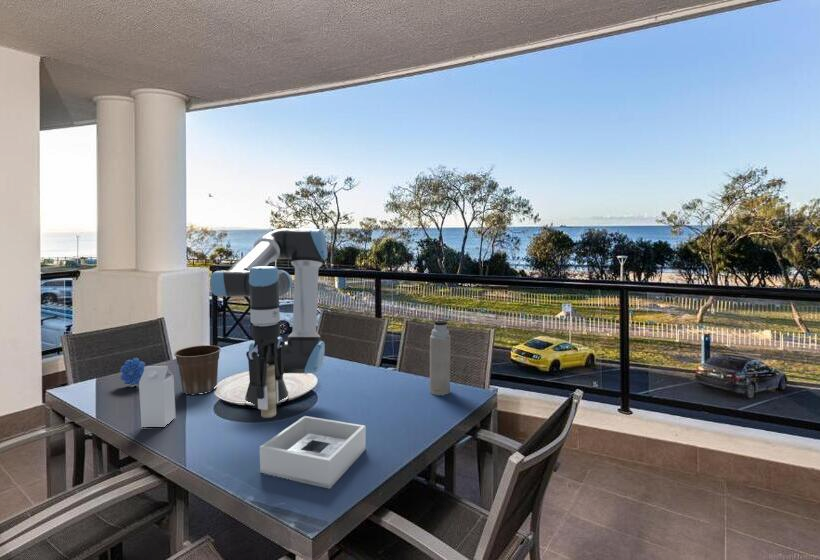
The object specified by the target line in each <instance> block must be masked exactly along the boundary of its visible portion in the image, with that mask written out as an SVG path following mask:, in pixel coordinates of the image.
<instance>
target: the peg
mask: <svg viewBox="0 0 820 560" xmlns="http://www.w3.org/2000/svg"><path fill="white" fill-rule="evenodd" d="M260 383H261V382H260ZM265 386H267V394H268V409H267V410H262V409H260V415H261V417H262V418H264V419H269V418H274V417H275V416H276V415H277V406H276V387H275V365H274V364H267V369H266V379H265Z"/></svg>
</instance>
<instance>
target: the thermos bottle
mask: <svg viewBox="0 0 820 560" xmlns="http://www.w3.org/2000/svg"><path fill="white" fill-rule="evenodd" d="M433 323H434V325H433V329H432V330H431V335H430V336H429V393H430V394H432V395H433V394H434V396H440V395H441V396H446V395H445V394H447V395H449V394H450V393H451V343H452V342H451V341H452V340H451V338H452V336H451V335H450V331H449V329H447V327H448V326H447V324H448V322H447V321H444V320H436V321H434V322H433ZM448 393H449V394H448Z"/></svg>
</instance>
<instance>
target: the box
mask: <svg viewBox="0 0 820 560" xmlns="http://www.w3.org/2000/svg"><path fill="white" fill-rule="evenodd" d="M366 432H367V430H366V425H364V424H359V423H358V424H357V423H352V422H351V423H350V422H345V421H339V420H334V419H327V418H326V419H325V418H321V417H320V418H319V417H314V416H307V415H304V416H302V417H300V418H299V419H298V420H297V421H295V422H293V423H292V424H291V425H289V426H288V427H286V428H285V429H283V430H281V432H279V433H278V434H276V435H275V436H273V437H271V438H270V439H269V440H267V441H266V442H265V443H263V444H262V445H261V446H259V466H260V467H259V469H260V472H262V473H266V474H270V475H274V476H273V477H275V476H278V477H277V478H279V477H282V478H281V479H284V478H286V479H285V480H288V479H289V481H293V482H299V483H303V484H306V485H312V486H315V487H316V486H317V487H320V488H325V489H329V490H330V489H331V488H332V487H333V486H334V485H335V484H336V482H338V481H339V479H340V478H341V477H342V476H343V475H344V474H345V473H346V471H348V469H349V468H350V467H352V465H353V464H354V463H355V462H356V461H357V460H358V458H359V457H360V456H362V454H363V453H364V452H365V451H366V449H367V448H366V447H367V446H366V440H367V439H366V436H367V435H366V434H367V433H366ZM309 433H310V434H315V435H321V436H327V437H332V438H338V439H344V440H346V441H345V442H344V443H343V444H342V445H341V446H340V447H339V448H338V449H337V450H336V451H335V452H334V453H332V454H331V455H330V456H329V457H328V458H326V457H321V456H315V455H310V454H305V453H300V452H295V451H290V450H288V449H289V448H291V447H292V446H293V445H294V444H296V443H297V442H298V441H300V440H301V439H302V438H303V437H305V436H306V435H307V434H309ZM311 452H316V453H320V452H318V451H311ZM266 474H265V475H266ZM270 475H269V476H270Z"/></svg>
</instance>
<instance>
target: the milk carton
mask: <svg viewBox="0 0 820 560" xmlns="http://www.w3.org/2000/svg"><path fill="white" fill-rule="evenodd" d="M174 377H175V376H174V374H173V373H172V372H171V370H169V366H168V365H154V366H151V365H150V366H149V365H148V366H146V365H145V366H144V372H143V374H142V376H141V379H140V381H139V384H138V386H139V387H138V388H139V389H138V390H139V404H140V405H139V406H140V424H141V428H142V427H165V426H166V425H167V424H169V423H170V422H171V421H172V420H173V419H174V418H175V419H176V400H175V399H176V398H175V395H176V394H175V382H174V381H175V378H174ZM175 419H174V420H175ZM174 420H173V421H174ZM173 421H172V422H173ZM172 422H171V423H172ZM171 423H170V424H171ZM170 424H169V425H170ZM167 426H168V425H167ZM167 426H166V427H167ZM166 427H165V428H166Z"/></svg>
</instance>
